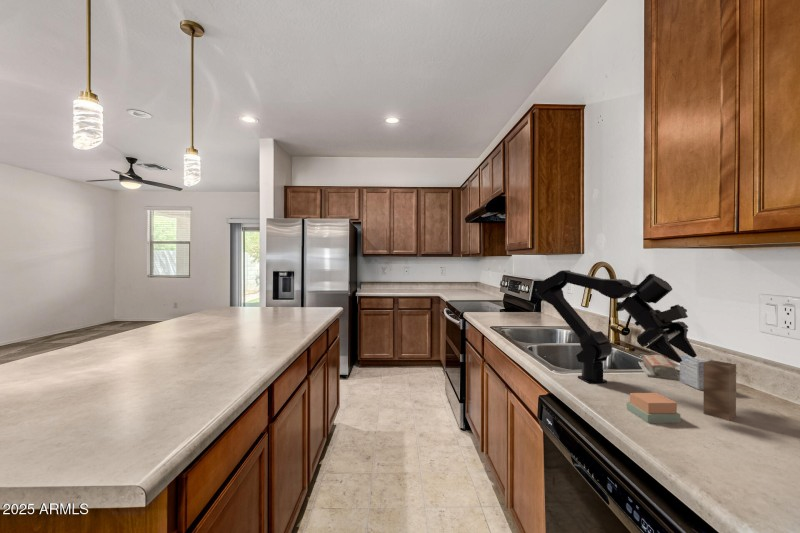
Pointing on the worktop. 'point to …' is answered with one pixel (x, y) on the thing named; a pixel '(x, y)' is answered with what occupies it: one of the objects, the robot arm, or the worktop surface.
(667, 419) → the tower base
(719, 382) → the walnut block
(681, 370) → the medicine box
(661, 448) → the worktop surface
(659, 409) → the tower top
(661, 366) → the packaged product
